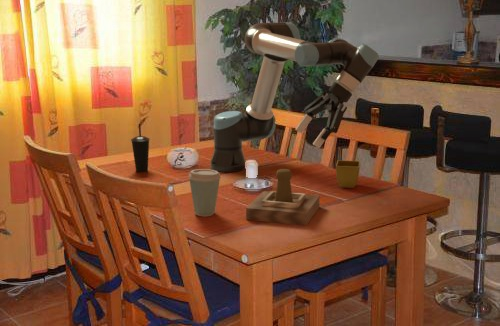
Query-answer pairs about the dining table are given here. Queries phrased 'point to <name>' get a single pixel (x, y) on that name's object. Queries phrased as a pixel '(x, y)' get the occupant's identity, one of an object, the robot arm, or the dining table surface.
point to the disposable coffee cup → (204, 190)
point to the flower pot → (347, 173)
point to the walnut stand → (283, 208)
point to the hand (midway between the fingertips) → (306, 138)
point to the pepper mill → (283, 186)
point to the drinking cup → (140, 152)
